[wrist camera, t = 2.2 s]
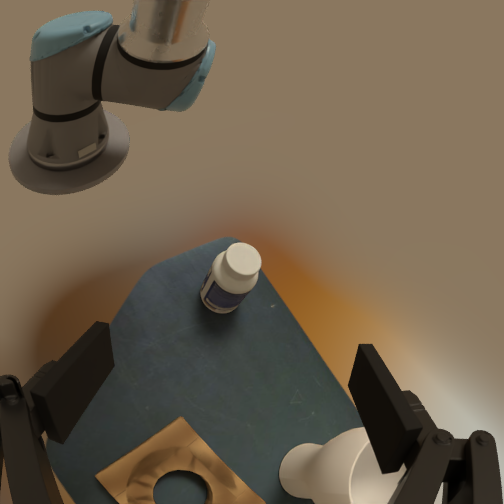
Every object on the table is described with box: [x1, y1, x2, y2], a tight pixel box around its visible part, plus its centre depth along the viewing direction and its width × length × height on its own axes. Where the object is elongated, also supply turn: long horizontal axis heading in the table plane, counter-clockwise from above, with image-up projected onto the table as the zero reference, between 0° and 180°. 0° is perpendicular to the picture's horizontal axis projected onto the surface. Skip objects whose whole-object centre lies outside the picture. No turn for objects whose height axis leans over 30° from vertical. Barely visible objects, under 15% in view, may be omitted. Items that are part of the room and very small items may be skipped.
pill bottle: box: [200, 243, 261, 313], centre depth 37 cm, size 5×5×10 cm
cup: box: [279, 427, 407, 504], centre depth 26 cm, size 11×11×15 cm
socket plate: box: [95, 416, 266, 504], centre depth 25 cm, size 14×12×2 cm
